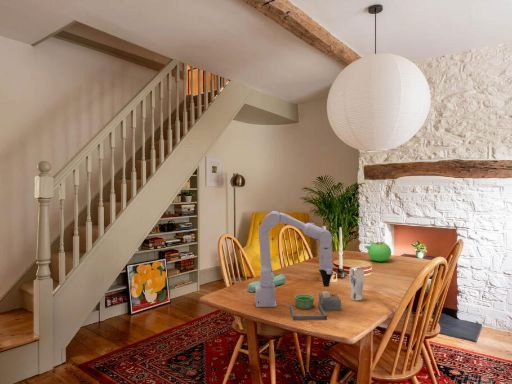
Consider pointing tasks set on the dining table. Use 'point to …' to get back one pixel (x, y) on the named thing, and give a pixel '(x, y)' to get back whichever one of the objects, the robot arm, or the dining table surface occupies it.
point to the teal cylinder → (276, 281)
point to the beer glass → (356, 283)
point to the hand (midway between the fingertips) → (326, 286)
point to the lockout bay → (309, 317)
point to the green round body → (379, 251)
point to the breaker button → (325, 294)
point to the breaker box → (330, 302)
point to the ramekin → (304, 301)
